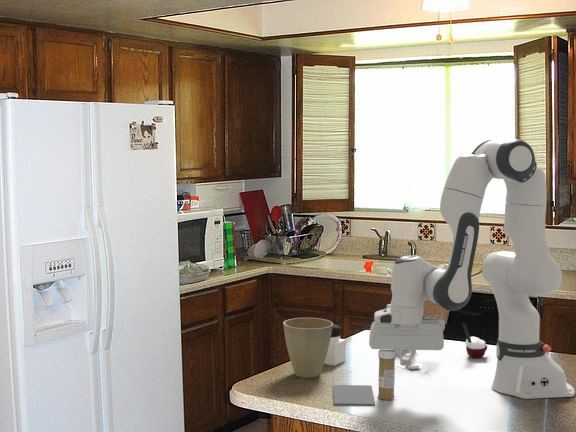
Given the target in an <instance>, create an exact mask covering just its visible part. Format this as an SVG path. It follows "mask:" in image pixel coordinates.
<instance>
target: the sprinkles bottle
mask: <svg viewBox="0 0 576 432" xmlns="http://www.w3.org/2000/svg"><path fill="white" fill-rule="evenodd" d="M378 359H379V360H378V366H379V367H378V395H377V397H378V399H380V400H382V399H383V400H384V401H389V400H394V399H395V377H396V376H395V371H396V370H395V369H396V368H395V367H396V366H395V360H396V349H378Z"/></svg>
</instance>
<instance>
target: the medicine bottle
mask: <svg viewBox="0 0 576 432" xmlns="http://www.w3.org/2000/svg"><path fill="white" fill-rule="evenodd" d="M346 346H347V345H346V339H345V338H341V326H340V325H338V324H335V323H333V327H332V333H331V338H330V343H329V348H328V351H327V355H326V358H325V361H324V364H323V365H328V366H334V367H335V366H337V365H339V364H342V363H343V362H346Z"/></svg>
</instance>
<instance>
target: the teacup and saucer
mask: <svg viewBox="0 0 576 432" xmlns="http://www.w3.org/2000/svg"><path fill="white" fill-rule="evenodd" d="M410 354H411V353H410V352H407V353H405V358H409V356H410ZM397 366H398V367H399V368H401V369H406V370H417V369H418V370H420V369H422V368H424V364H422V363H419V362H416V354H415V356H414V357H413V359H412V360H411V366H407V367H405V366H403V365H402V366H401V365H400V363H398V364H397Z"/></svg>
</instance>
